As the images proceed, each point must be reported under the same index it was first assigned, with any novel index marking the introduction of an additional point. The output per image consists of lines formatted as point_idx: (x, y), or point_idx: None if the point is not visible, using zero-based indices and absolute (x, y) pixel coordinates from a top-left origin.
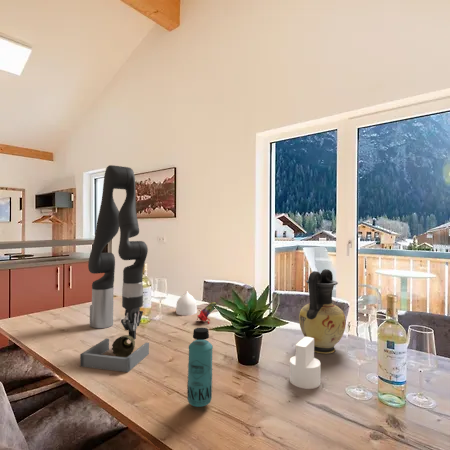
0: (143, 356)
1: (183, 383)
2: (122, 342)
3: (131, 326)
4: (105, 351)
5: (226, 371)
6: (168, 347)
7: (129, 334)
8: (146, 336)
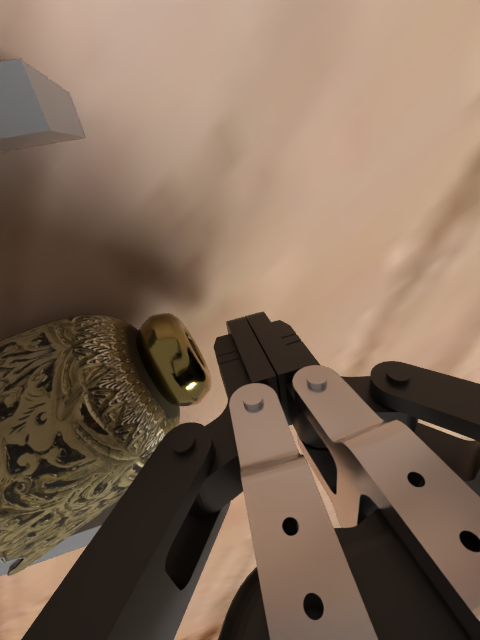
0: None
1: None
2: (121, 338)
3: (203, 549)
4: (12, 148)
5: (200, 623)
6: None
7: (223, 377)
8: (450, 241)
